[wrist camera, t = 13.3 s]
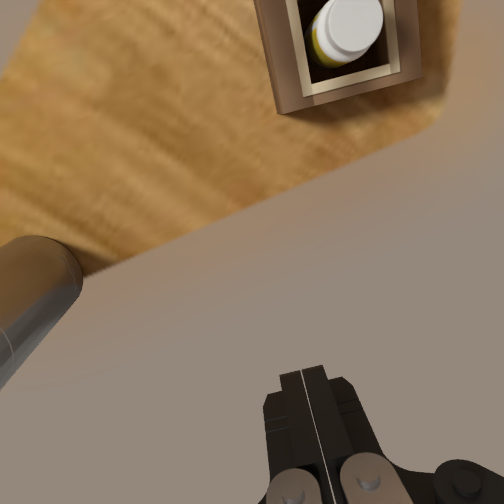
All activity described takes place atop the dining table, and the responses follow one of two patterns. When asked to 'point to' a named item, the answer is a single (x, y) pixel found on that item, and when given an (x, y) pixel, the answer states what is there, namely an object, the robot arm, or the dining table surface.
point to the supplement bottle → (342, 32)
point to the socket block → (377, 76)
